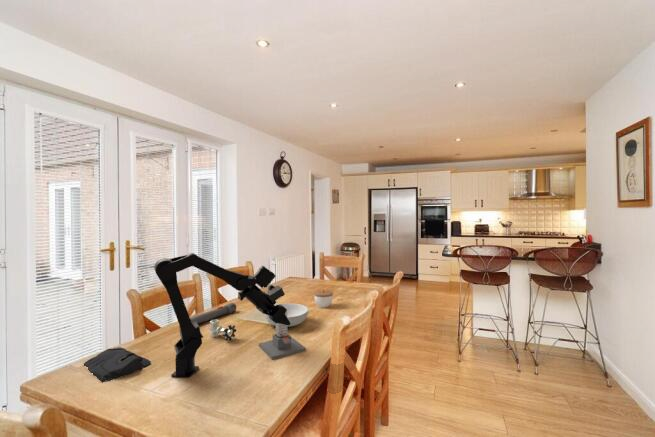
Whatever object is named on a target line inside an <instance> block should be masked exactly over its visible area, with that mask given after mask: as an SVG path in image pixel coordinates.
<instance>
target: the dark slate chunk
mask: <svg viewBox="0 0 655 437" xmlns="http://www.w3.org/2000/svg"><path fill="white" fill-rule="evenodd" d="M83 364H84V366H86V367H88V370H89V371H90V372H91V373H93V375H92V376H94V377H95V376H96V377H97V378H96V377H95V378H96V379H97V380H98V381H99V380H100V381H99V382H101V383H103V382H111V380H112V381H113V379H114V380H116V379H119V378H122V377H125V375H126V376H128V375H131V374H134V373H136V372H139V371H140V370H143V369H144V368H146V367H147V366H149V365H151V364H152V361H151V360H150V359H148V358H145V357H143V356H140V355H138V354H136V353H135V352H132V351H130V350H127V349H126V348H124V347H120V346H118V347H113V348H107V349H105V350H103V351H102V352H100V353H98V354H97V355H95V356H93V357H92V358H90V359H87V360H86V361H84V363H83ZM84 366H83V367H84ZM88 370H87V371H88ZM89 371H88V372H89ZM90 372H89V373H90ZM91 373H90V374H91ZM121 376H122V377H121Z"/></svg>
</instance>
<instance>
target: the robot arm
mask: <svg viewBox="0 0 655 437" xmlns="http://www.w3.org/2000/svg"><path fill="white" fill-rule="evenodd" d="M153 266H154V269H153V270H154V271H155V274H156V276H157V277H158V279H159V280H160V282H161V283H162V285H163V286H164V288H165V290H166V293H167V296H168V298H169V302H170V304H171V306H172V309H173V312H174V315H175V316H176V320H177V322H178V325H179V326H178V327H179V336H180V338H179V340H178V341H177V342H176V343H175V344H174V346H173V347H174V351H175V354H176V355H175V370H174V371H173V373H171V375H170V376H171V377H172V378H173V377H175V378H179V377H180V378H191V377H192V376H193V375H194V374H195V372H197V371H198V369H200V366H198V365H195V364H196V363H195V362H196V361H195V359H196V358H195V357H196V355H197V351H198V350H199V348H200V347H201V346H202V344H203V340H202V339H203V338H204V336H203V334H202V332H201V327H200V325H199V324H197V322H195V323H192V322H191V320H190V318H191V317H190V315H189V312H188V309H187V306H186V304H185V301H184V298H183V296H182V293H181V290H180V287H179V284H178V273H179V272H182V271H184V270H186V269H188V268H191V267H194V268H195V269H198V270H200V271H203V272H204V273H208V275H212V276H214V277H216V278H218V279H220V280H222V281H224V282H225V283H227V284H228V285H229V286H231V287H232V288H233V289H234V290H236V291H237V298H238V300H239V301H240V302H242V301H243V300H245V299H246V300H248V302H250V303H251V304H252V305H253V306H254V307H255V309H257V311H259V312H260V313H261V314H264V315H265V314H266V315H269V318H270V319H271V320H272V321H273V322H275V323H279V324H284V325H290V321H289V320H288V318H287V317H286V315H285V313H286V311H287V309H286V308H285V307H284V306H282V305H280V304H281V303H278V304H279V305H277V304H276V303H277V300H278V299H280V298H282V297H284V296H285V295H286V293H285V292H284V290H283V287H282V286H280V285H275V286H274V285H273V284H271V282H273V280H274V279H275V278H276V277H277V275H276V274H275V273H274V272H273V271H271V270H270V269H268V268H267V267H265V265H261V266H260V267H259V269H257V271H256V272H255V274H253V275H249V274H247V275H246V274H243V273H242V272H239V271H234V270H230V269H226V268H224V267H221V266H220V265H217V264H215V263H213V262H211V261H209V260H207V259H206V258H203V257H201V256H199V255H197V254H196V253H194V252H189V253H187V254H185V255H180V256H175V257H171V258H166V257H164V258H160V259H158V260H157V261H156V262H155V264H154V265H153ZM259 287H260V288H259ZM263 288H264V289H266V288H267V289H268V290H267V291H266V292H265V291H264V290H262V289H263ZM275 305H276V306H275Z"/></svg>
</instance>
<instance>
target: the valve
mask: <svg viewBox="0 0 655 437" xmlns="http://www.w3.org/2000/svg"><path fill="white" fill-rule="evenodd" d="M235 327H236V325H235V324H232V325H231V324H227V327H223V325H220V320H219V319H211V320H209V334H210V335H209V336H210V337H211V338H218V337H219V336H220V334H222V337H223V338H224V340H225V341H232V339H233V338H235V337H236V334H235V333H236V332H237V329H236V328H235Z"/></svg>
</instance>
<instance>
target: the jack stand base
mask: <svg viewBox="0 0 655 437" xmlns="http://www.w3.org/2000/svg"><path fill="white" fill-rule="evenodd" d="M258 346H259V348H260V349H261V350H262V351H263V352H264V353H265V355H267V356H268V357H269V358H270V359H271V360H275V359H279V358H283V357H287V356H291V355H293V354H297V353H300V352H305V351H306V350H307V348H306V347H305V346H304V345H303V344H302V343H300V342H299V341H297V340H296V339H295V338H294V337H292V335H290V334H289V333H288V336H287V337H283V338H278V337H276V333H274V334H272V339H271V340H267V341H263V342H259V343H258Z"/></svg>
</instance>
